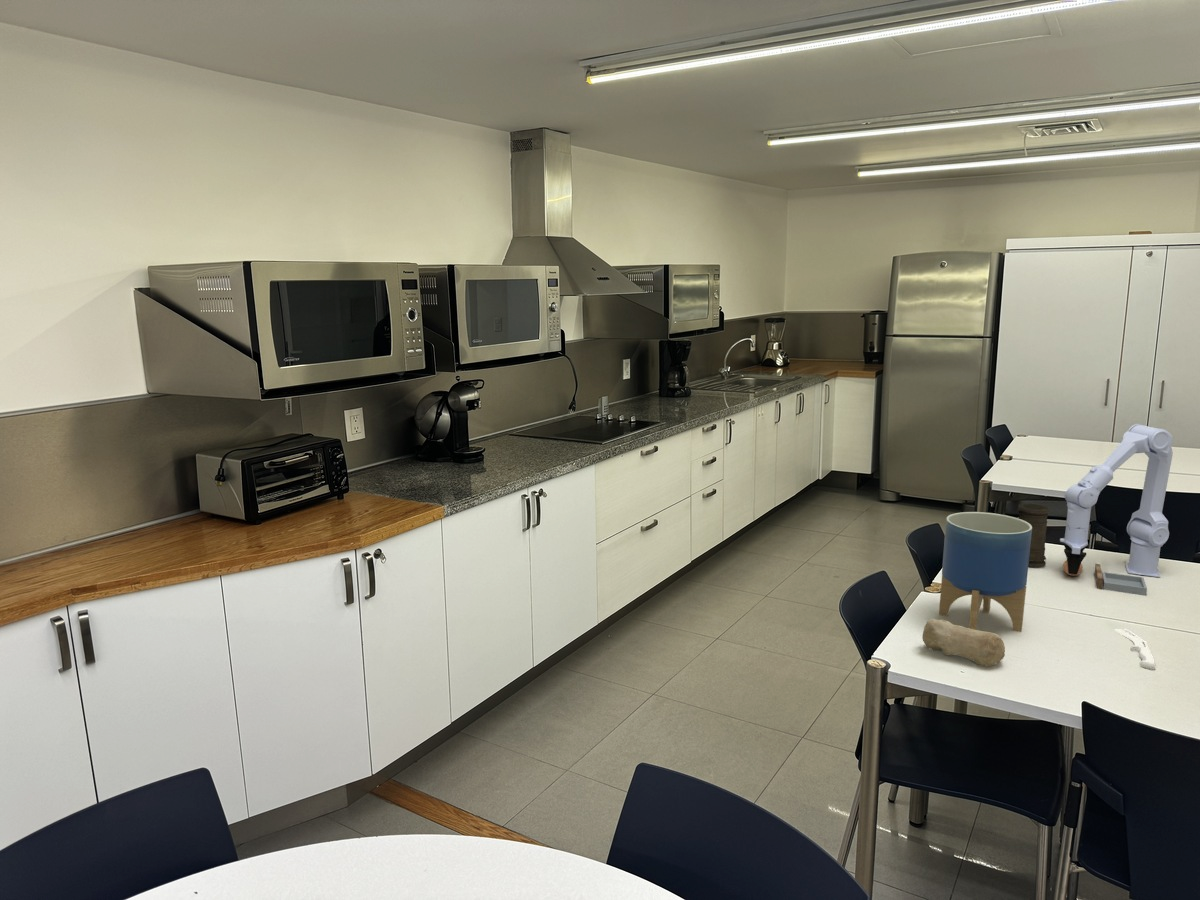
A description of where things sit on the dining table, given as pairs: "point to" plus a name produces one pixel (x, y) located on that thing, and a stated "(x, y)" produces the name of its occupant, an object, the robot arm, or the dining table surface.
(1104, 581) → the tray
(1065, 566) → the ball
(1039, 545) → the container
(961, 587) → the planter
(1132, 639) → the knife
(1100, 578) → the rail
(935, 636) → the tan rounded lump
